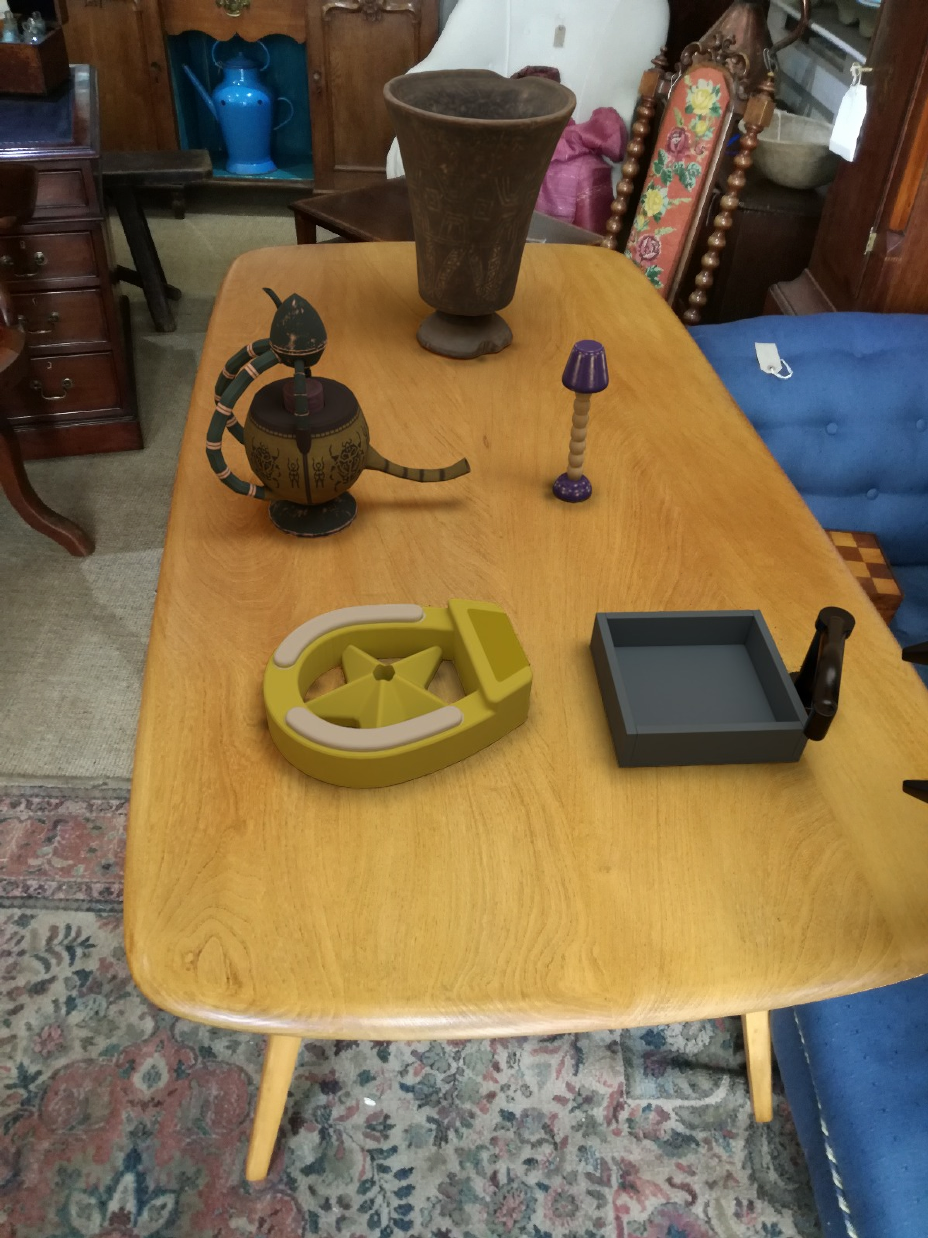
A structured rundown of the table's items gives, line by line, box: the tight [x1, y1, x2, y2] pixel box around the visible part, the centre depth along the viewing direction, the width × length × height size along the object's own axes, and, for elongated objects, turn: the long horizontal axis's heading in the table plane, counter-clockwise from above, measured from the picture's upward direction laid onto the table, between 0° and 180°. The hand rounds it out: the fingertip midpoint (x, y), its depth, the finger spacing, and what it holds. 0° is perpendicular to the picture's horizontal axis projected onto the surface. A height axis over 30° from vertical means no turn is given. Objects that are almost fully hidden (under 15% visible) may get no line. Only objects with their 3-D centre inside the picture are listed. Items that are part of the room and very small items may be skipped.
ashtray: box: [262, 597, 534, 789], centre depth 76 cm, size 16×21×5 cm
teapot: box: [205, 287, 472, 540], centre depth 88 cm, size 12×25×23 cm, turn 96°
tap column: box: [788, 630, 821, 716], centre depth 77 cm, size 4×4×8 cm
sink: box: [589, 609, 810, 768], centre depth 77 cm, size 15×14×4 cm
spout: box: [803, 605, 856, 742], centre depth 71 cm, size 12×3×3 cm, turn 159°
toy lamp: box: [552, 339, 610, 503], centre depth 95 cm, size 5×5×17 cm
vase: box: [382, 68, 577, 359], centre depth 115 cm, size 22×22×30 cm
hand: (902, 717), depth 58 cm, fingers open, 9 cm apart
